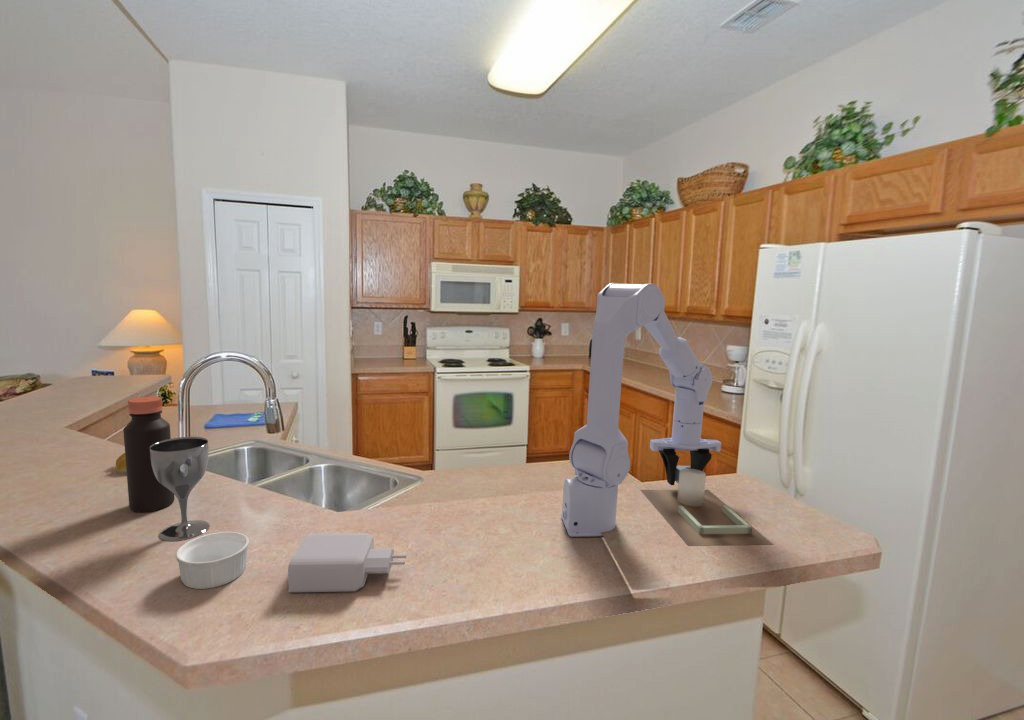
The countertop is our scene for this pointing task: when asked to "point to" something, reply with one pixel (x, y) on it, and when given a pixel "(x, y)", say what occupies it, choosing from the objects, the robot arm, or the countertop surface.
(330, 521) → the countertop surface
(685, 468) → the white blue t-bar grip
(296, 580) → the charger
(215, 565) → the ramekin
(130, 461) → the bottle
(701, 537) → the board
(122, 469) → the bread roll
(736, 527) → the cradle
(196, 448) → the wine glass
